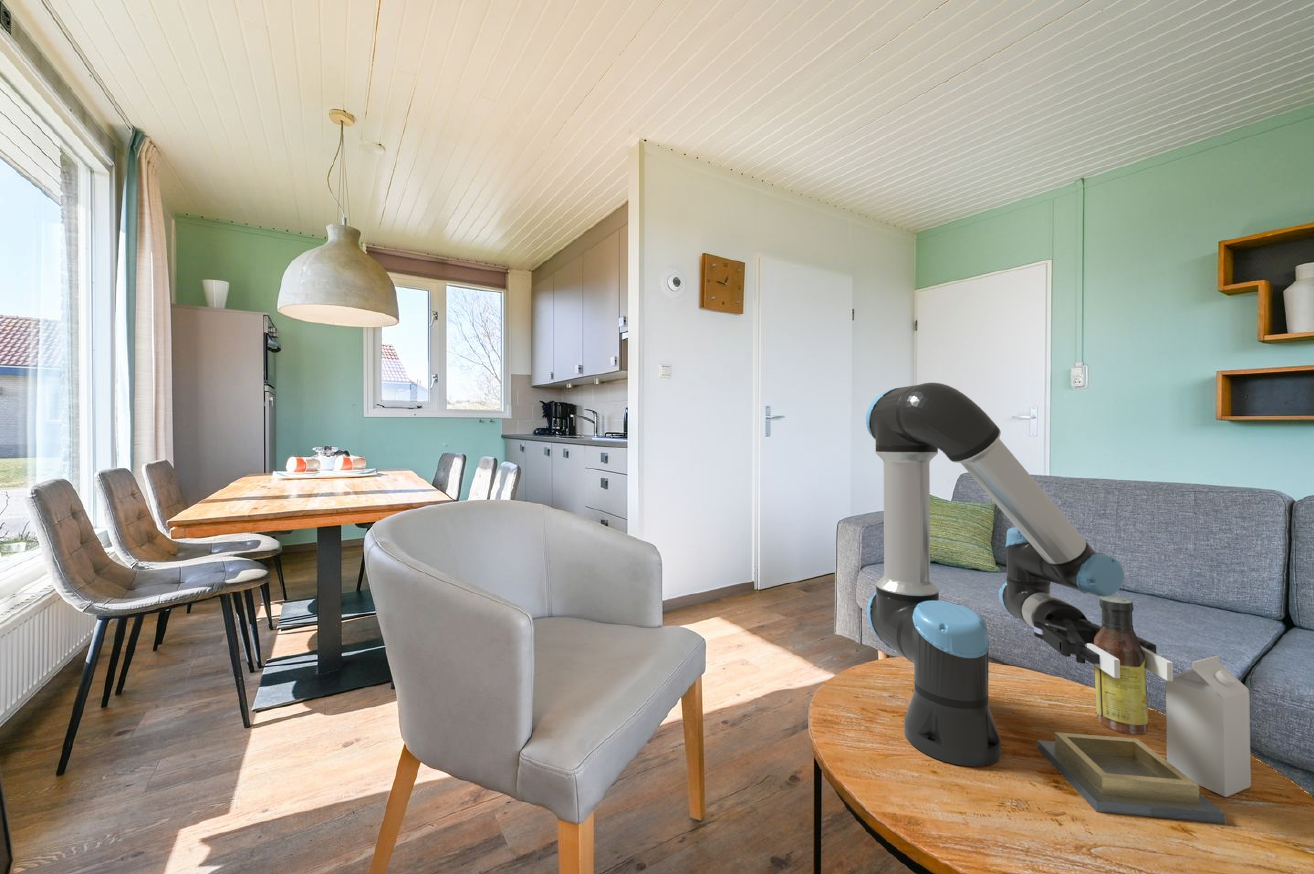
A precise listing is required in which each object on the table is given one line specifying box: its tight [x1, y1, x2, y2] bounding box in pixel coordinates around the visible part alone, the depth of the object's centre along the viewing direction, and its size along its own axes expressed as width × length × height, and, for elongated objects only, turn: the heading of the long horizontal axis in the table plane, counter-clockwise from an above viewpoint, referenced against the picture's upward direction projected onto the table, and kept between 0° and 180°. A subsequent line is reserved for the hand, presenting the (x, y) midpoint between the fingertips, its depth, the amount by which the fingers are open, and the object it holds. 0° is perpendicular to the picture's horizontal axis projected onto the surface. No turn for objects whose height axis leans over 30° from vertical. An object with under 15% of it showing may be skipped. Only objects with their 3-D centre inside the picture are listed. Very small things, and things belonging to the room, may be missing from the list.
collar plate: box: [1036, 731, 1226, 825], centre depth 84 cm, size 16×16×4 cm
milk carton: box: [1165, 655, 1252, 798], centre depth 85 cm, size 7×7×19 cm
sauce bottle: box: [1093, 596, 1149, 736], centre depth 84 cm, size 7×6×20 cm
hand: (1143, 670), depth 79 cm, fingers closed on sauce bottle, 6 cm apart
